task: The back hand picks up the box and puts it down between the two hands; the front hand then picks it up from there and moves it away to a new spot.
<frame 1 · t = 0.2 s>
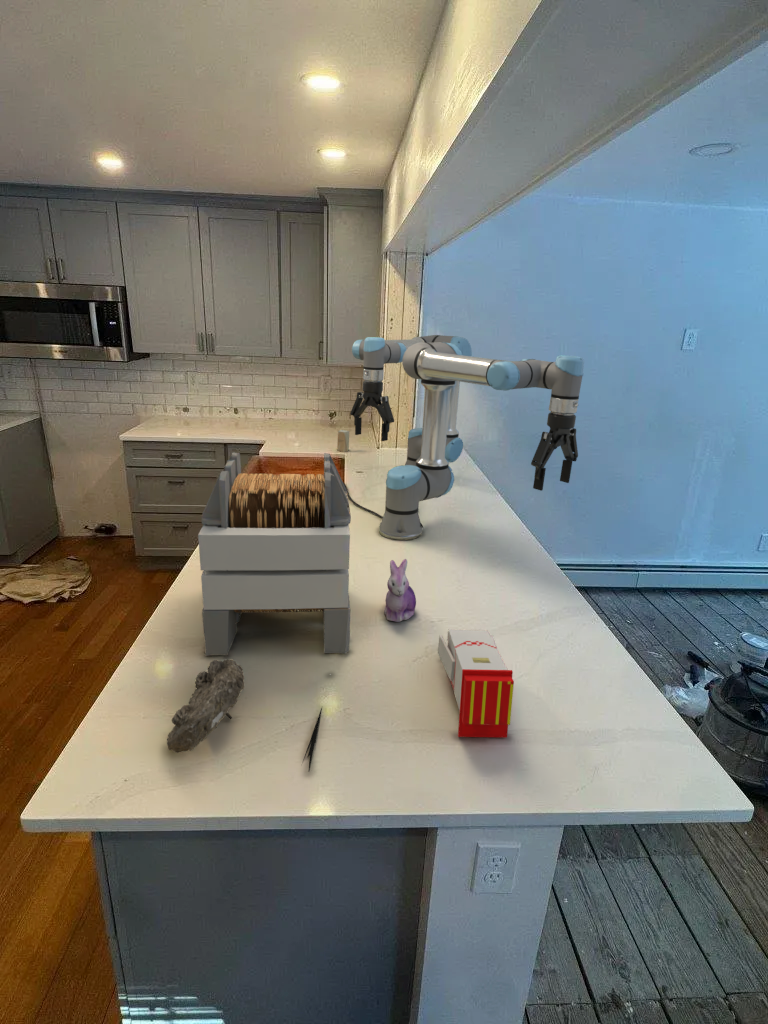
front hand: (551, 485, 166), 28 cm above the counter, tool pointing down, fingers open, 13 cm apart
back hand: (371, 437, 217), 28 cm above the counter, tool pointing down, fingers open, 13 cm apart
figurine: (399, 614, 147), on the counter
toy: (469, 691, 119), on the counter
fossil: (212, 717, 108), on the counter
feather: (319, 719, 109), on the counter
cotton gin model: (282, 618, 143), on the counter
box: (343, 450, 311), on the counter
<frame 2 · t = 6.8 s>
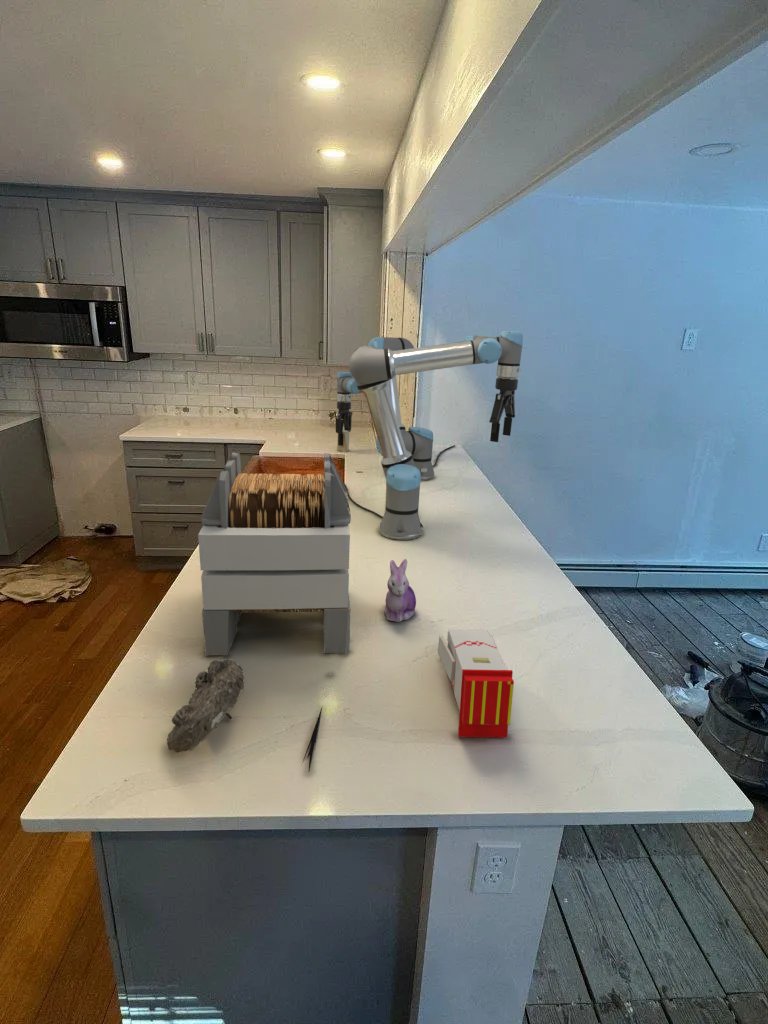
front hand: (500, 438, 203), 32 cm above the counter, tool pointing down, fingers open, 13 cm apart
back hand: (343, 444, 310), 4 cm above the counter, tool pointing down, fingers closed on box, 4 cm apart
box: (343, 450, 311), on the counter, touching back hand
everything else where it was.
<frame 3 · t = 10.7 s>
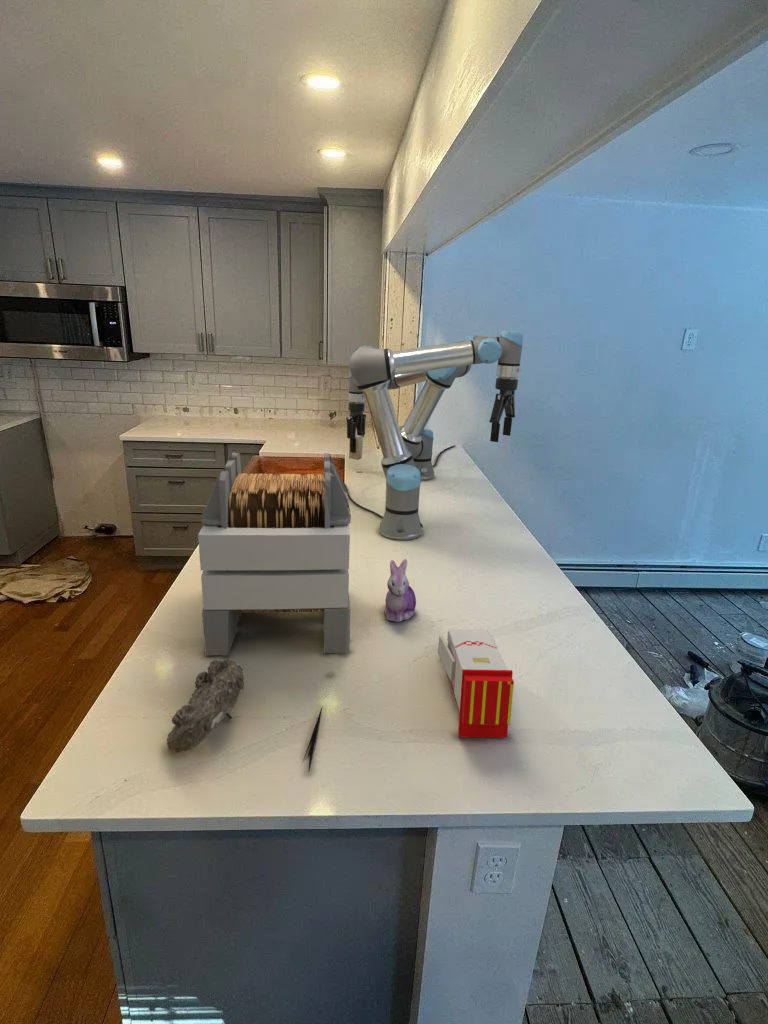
front hand: (500, 438, 203), 32 cm above the counter, tool pointing down, fingers open, 13 cm apart
back hand: (355, 451, 272), 10 cm above the counter, tool pointing down, fingers closed on box, 4 cm apart
box: (355, 458, 273), point 6 cm above the counter, touching back hand
everything else where it was.
when the back hand's fingers open (5 cm above the counter, at t = 14.6 s): box drops 2 cm, on the counter.
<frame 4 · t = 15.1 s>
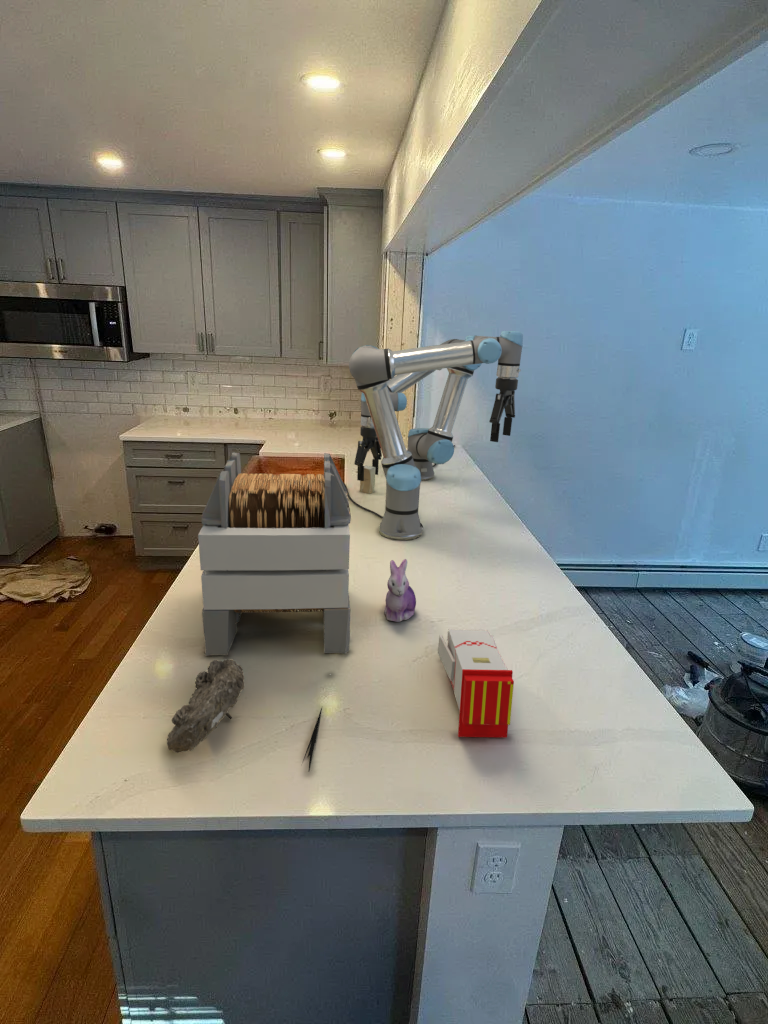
front hand: (500, 438, 203), 32 cm above the counter, tool pointing down, fingers open, 13 cm apart
back hand: (367, 477, 242), 6 cm above the counter, tool pointing down, fingers open, 11 cm apart
box: (367, 491, 244), on the counter
everything else where it was.
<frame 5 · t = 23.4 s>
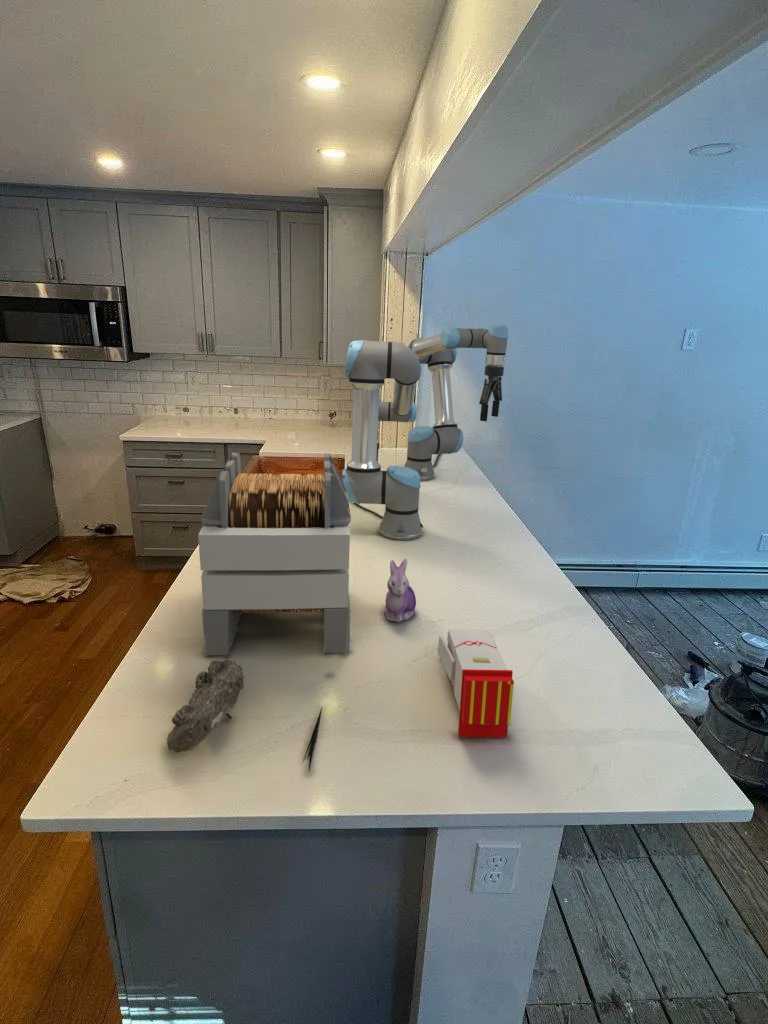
front hand: (367, 483, 243), 4 cm above the counter, tool pointing down, fingers closed on box, 4 cm apart
back hand: (489, 418, 233), 34 cm above the counter, tool pointing down, fingers open, 13 cm apart
box: (367, 491, 244), on the counter, touching front hand
everything else where it was.
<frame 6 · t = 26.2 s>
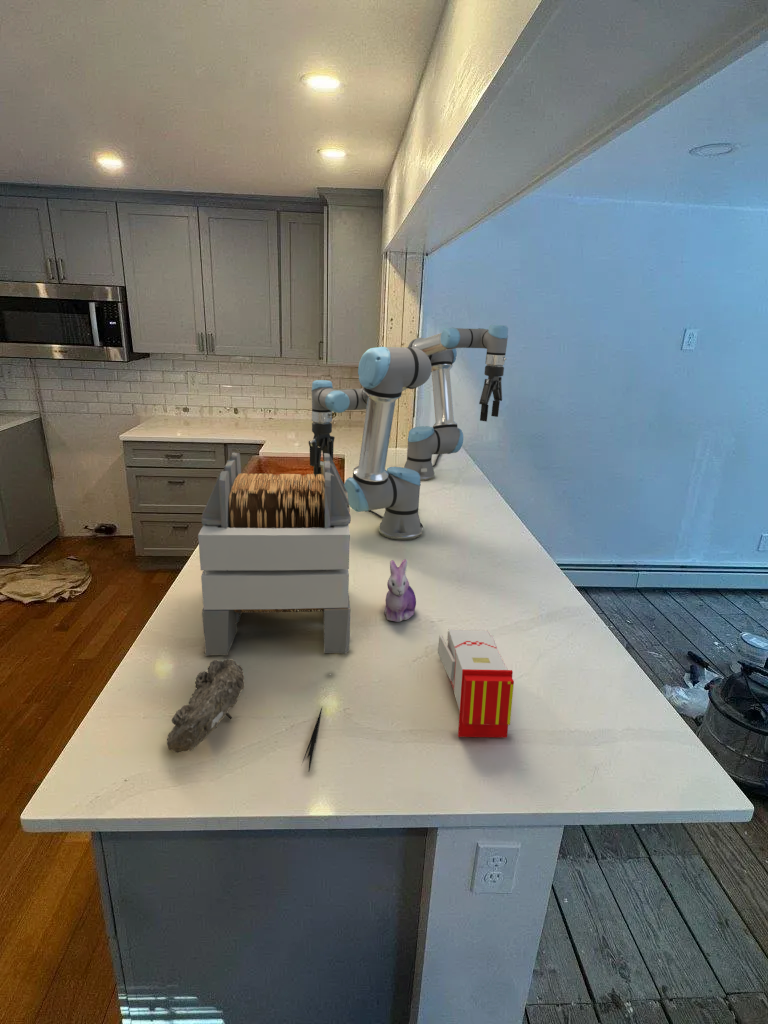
front hand: (321, 481, 222), 10 cm above the counter, tool pointing down, fingers closed on box, 4 cm apart
back hand: (489, 418, 233), 34 cm above the counter, tool pointing down, fingers open, 13 cm apart
box: (321, 489, 223), point 6 cm above the counter, touching front hand
everything else where it was.
when the front hand's fingers open (5 cm above the counter, at t = 28.9 s): box drops 2 cm, on the counter.
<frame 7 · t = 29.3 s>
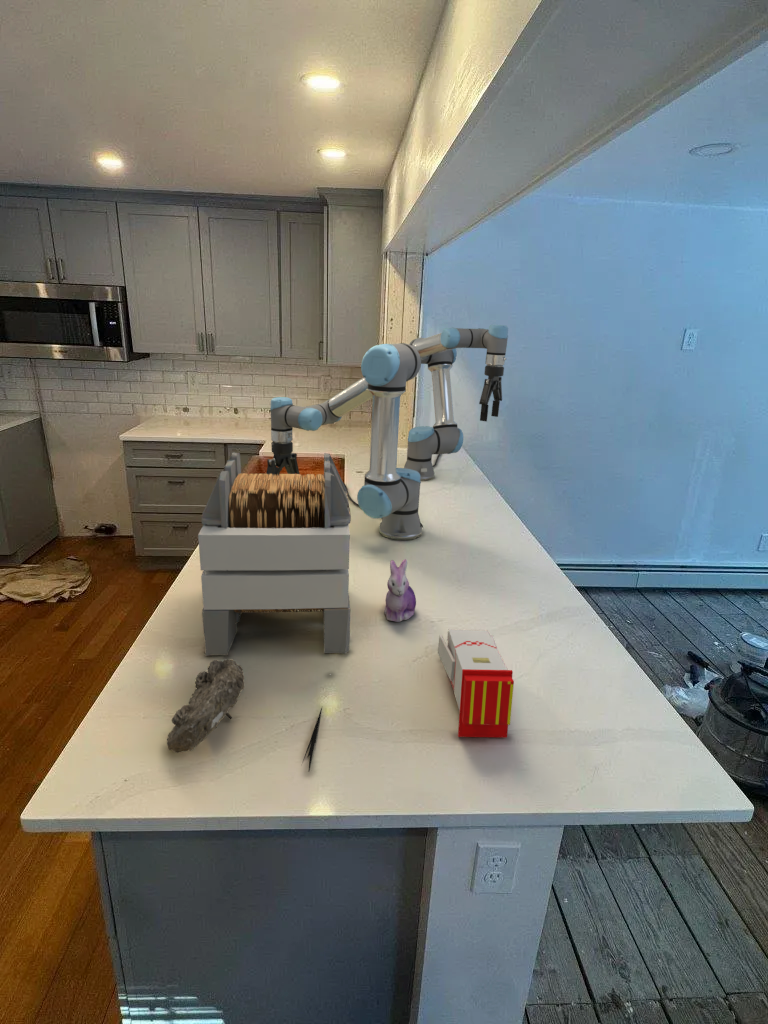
front hand: (283, 500, 210), 6 cm above the counter, tool pointing down, fingers open, 10 cm apart
back hand: (489, 418, 233), 34 cm above the counter, tool pointing down, fingers open, 13 cm apart
box: (283, 515, 212), on the counter
everything else where it was.
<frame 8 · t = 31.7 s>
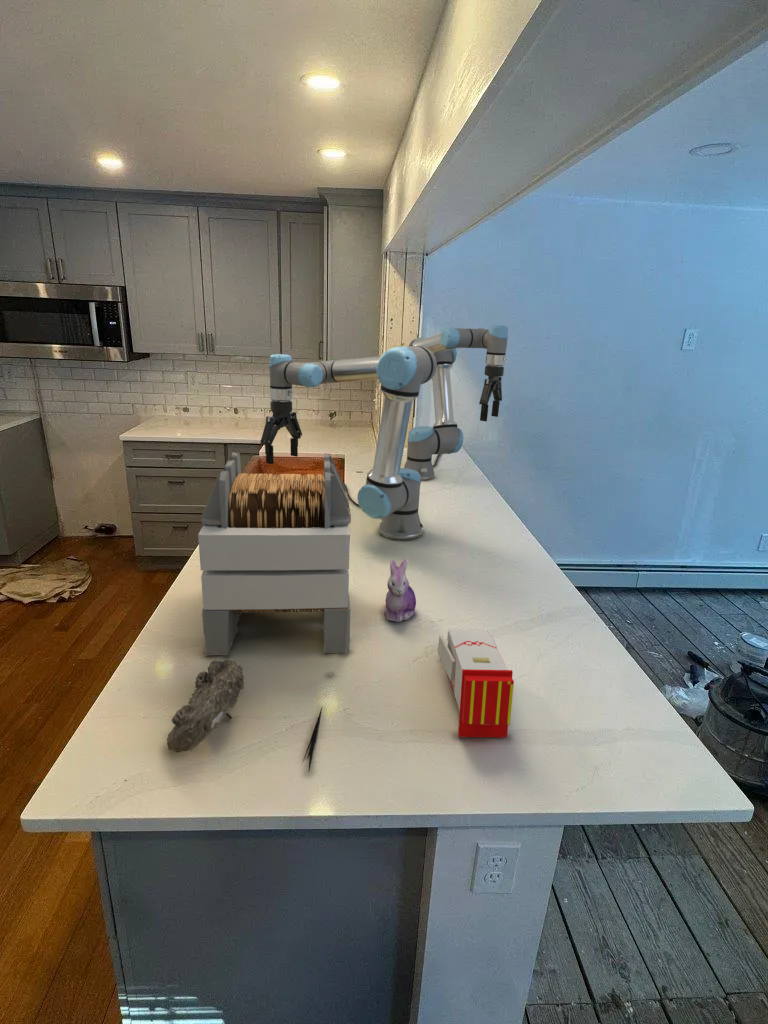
front hand: (282, 459, 204), 22 cm above the counter, tool pointing down, fingers open, 13 cm apart
back hand: (489, 418, 233), 34 cm above the counter, tool pointing down, fingers open, 13 cm apart
nothing on the counter moved.
at the end: box inside the target area (0.1 cm from its centre), on the counter; box tilted 0°; the two hands never held the box at the same time; the front hand is holding nothing; the back hand is holding nothing; box at rest at the end (0.0 cm/s) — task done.
